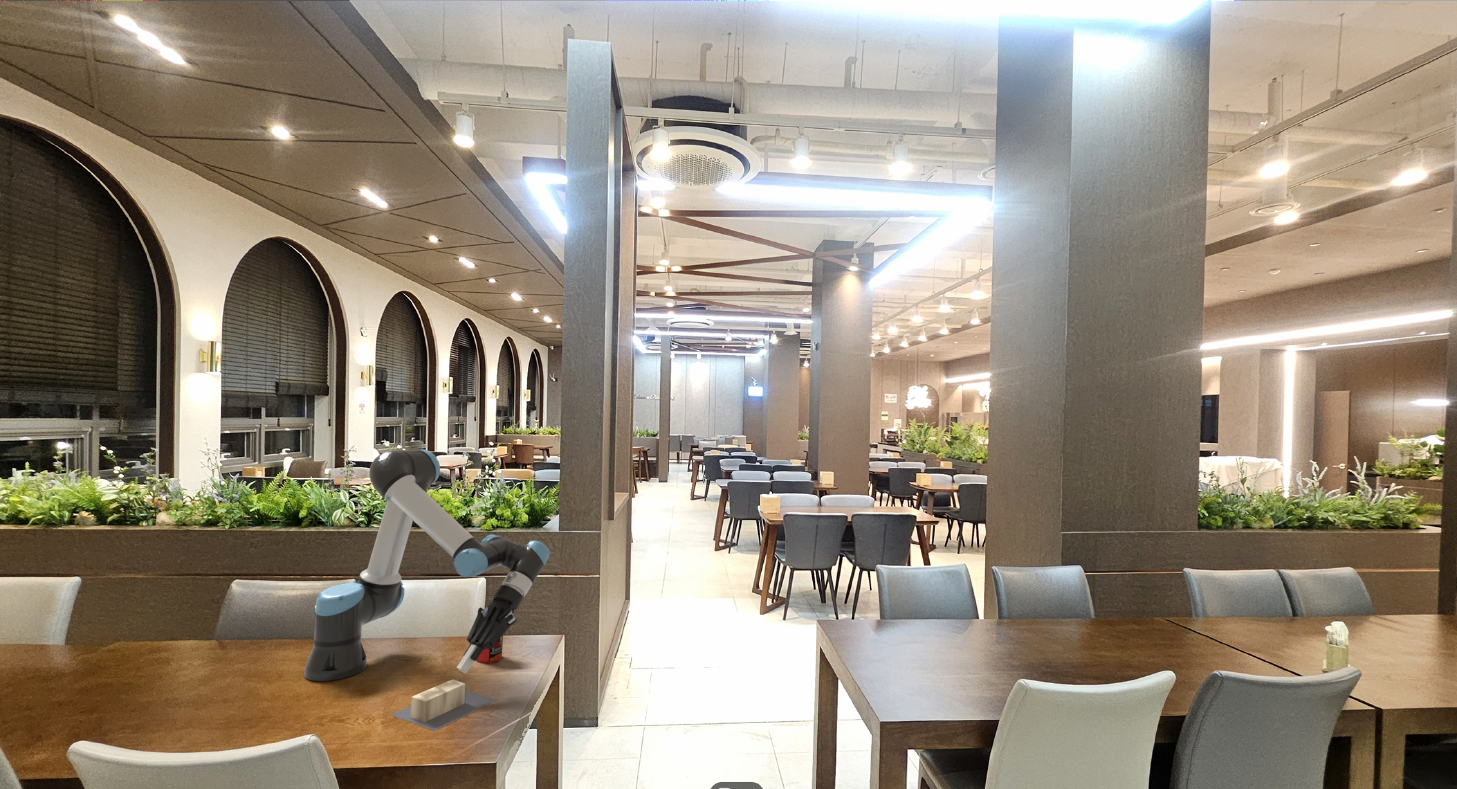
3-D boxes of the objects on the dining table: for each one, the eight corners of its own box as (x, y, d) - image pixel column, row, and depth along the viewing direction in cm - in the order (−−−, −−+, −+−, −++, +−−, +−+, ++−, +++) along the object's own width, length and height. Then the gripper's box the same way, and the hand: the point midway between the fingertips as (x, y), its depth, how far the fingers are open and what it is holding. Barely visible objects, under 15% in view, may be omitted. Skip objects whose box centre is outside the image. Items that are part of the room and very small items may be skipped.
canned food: (493, 665, 185) (494, 628, 186) (469, 662, 187) (470, 625, 188) (507, 656, 193) (508, 620, 193) (483, 653, 195) (485, 618, 195)
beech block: (451, 698, 162) (410, 717, 151) (452, 679, 162) (411, 696, 152) (465, 702, 160) (424, 722, 149) (466, 683, 160) (425, 701, 149)
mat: (389, 716, 152) (390, 714, 152) (454, 687, 169) (454, 686, 169) (434, 732, 145) (434, 730, 145) (497, 701, 162) (497, 699, 162)
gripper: (488, 580, 178) (435, 658, 162) (523, 587, 172) (471, 668, 156) (502, 594, 182) (451, 672, 167) (536, 601, 177) (487, 682, 161)
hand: (461, 670), depth 162 cm, fingers closed
